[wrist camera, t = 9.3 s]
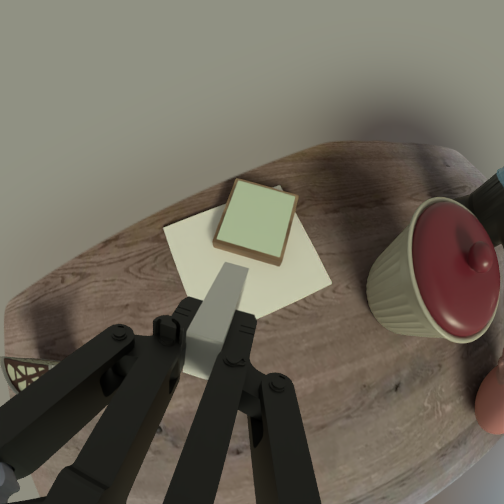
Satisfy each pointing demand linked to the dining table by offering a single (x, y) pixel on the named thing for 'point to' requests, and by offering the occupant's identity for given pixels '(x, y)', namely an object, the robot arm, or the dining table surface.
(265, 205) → the green-topped wooden box
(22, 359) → the food container
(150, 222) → the dining table surface
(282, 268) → the white flat sheet
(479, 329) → the canister
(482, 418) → the balloon
